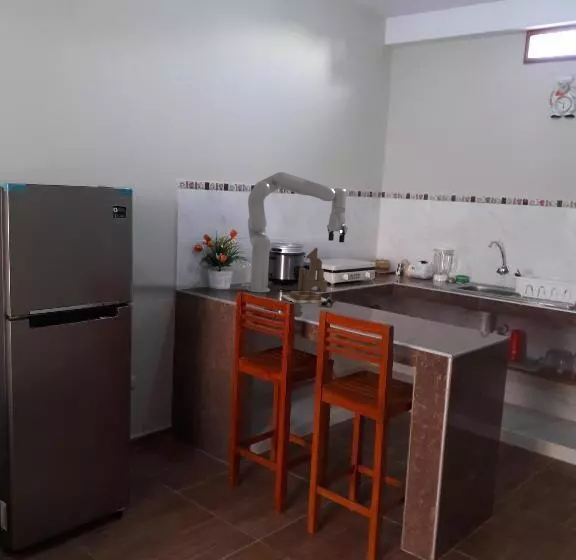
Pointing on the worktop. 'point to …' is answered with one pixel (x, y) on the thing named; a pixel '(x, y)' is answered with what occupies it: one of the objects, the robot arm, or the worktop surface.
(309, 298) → the jig
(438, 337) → the worktop surface
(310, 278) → the wooden toy
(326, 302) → the eagle figurine
